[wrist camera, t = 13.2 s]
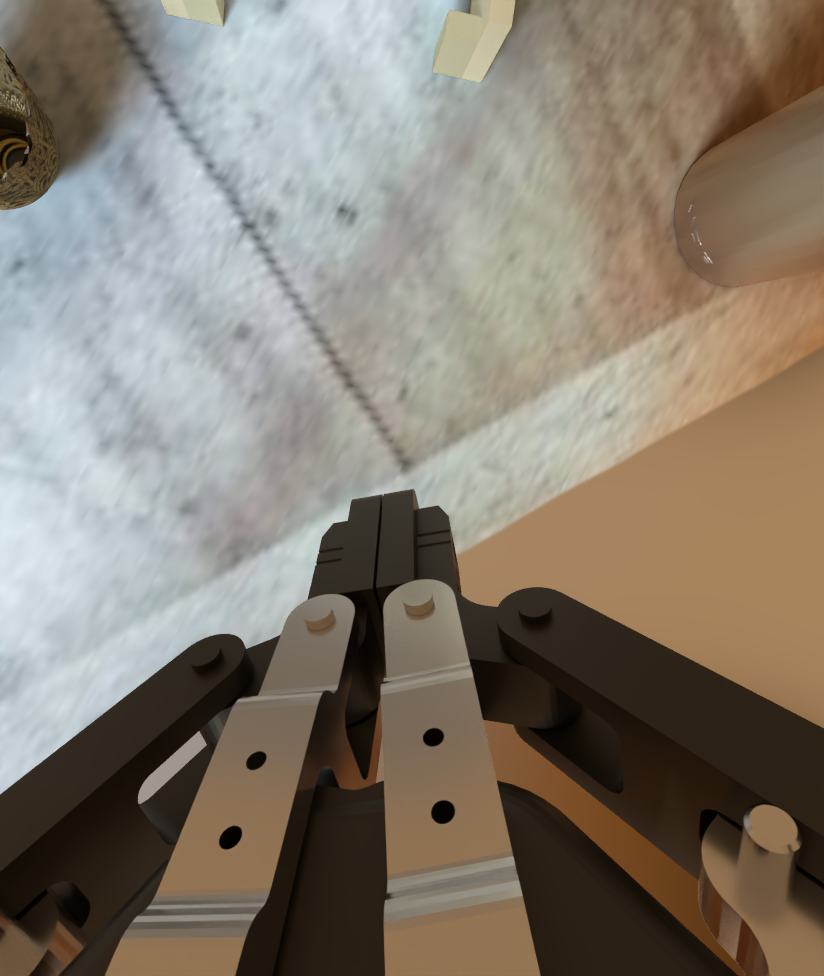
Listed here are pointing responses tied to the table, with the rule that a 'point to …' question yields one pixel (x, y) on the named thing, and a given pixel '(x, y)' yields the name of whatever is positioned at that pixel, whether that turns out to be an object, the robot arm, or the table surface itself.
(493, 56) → the walled box
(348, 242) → the table surface
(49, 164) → the cup
